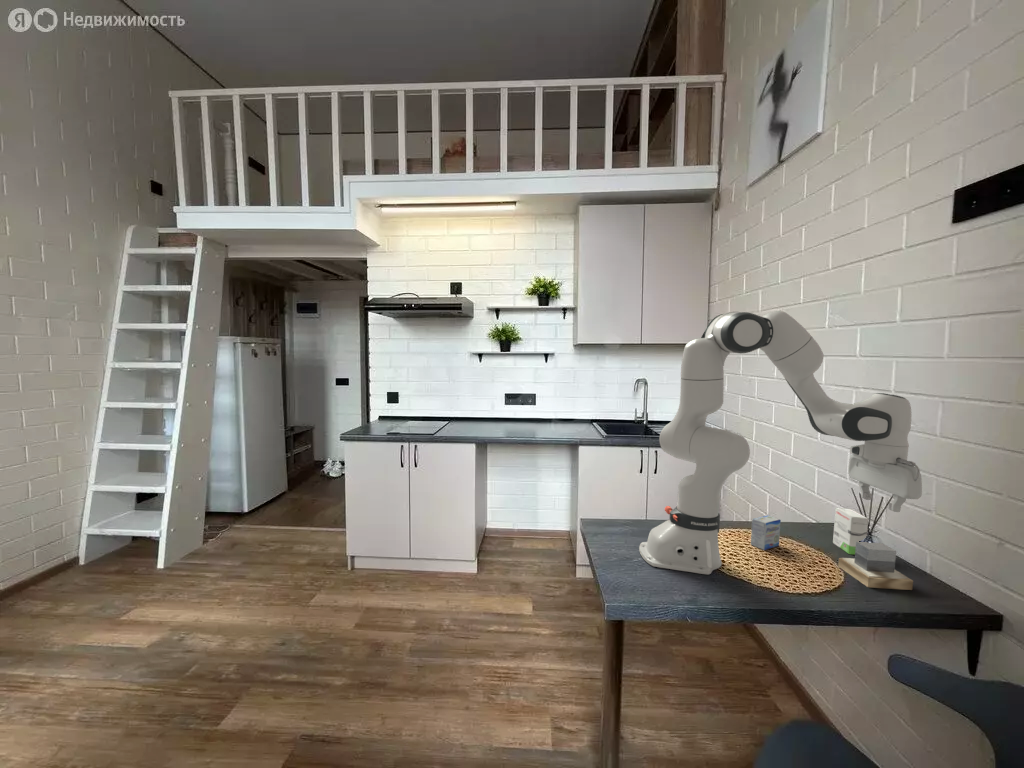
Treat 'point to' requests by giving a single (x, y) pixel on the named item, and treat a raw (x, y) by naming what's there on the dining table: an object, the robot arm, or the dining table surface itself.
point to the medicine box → (765, 532)
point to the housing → (875, 557)
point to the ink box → (849, 529)
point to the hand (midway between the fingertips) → (879, 504)
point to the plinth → (875, 576)
